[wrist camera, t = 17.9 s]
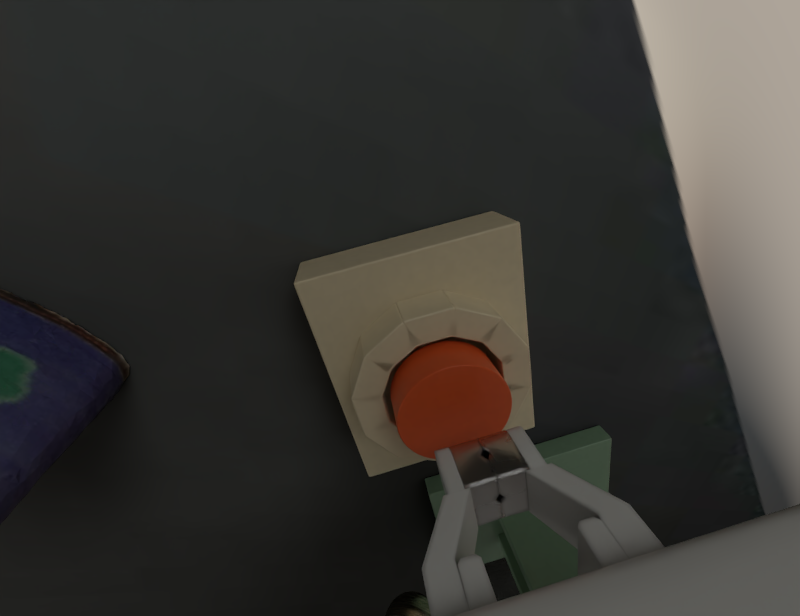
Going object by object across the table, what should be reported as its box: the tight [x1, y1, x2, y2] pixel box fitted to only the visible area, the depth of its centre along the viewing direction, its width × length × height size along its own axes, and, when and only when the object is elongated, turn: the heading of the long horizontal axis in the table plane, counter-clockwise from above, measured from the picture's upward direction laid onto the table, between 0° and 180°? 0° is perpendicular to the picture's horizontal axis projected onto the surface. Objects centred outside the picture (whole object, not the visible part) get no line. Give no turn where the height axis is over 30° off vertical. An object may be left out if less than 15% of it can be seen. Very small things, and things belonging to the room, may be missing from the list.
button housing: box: [294, 211, 535, 477], centre depth 16 cm, size 11×9×4 cm
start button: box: [390, 341, 512, 459], centre depth 14 cm, size 4×4×2 cm
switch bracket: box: [425, 425, 611, 594], centre depth 20 cm, size 12×9×12 cm
